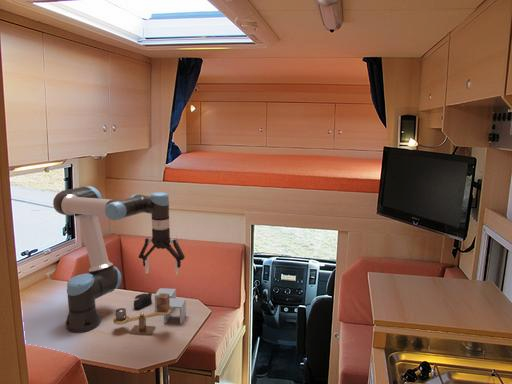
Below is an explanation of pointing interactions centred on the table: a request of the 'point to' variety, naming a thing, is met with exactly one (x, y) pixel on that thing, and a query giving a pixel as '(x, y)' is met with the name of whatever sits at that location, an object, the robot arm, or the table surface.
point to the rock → (142, 300)
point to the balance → (142, 327)
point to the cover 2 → (180, 305)
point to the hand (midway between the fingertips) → (162, 273)
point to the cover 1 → (165, 291)
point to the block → (163, 303)
